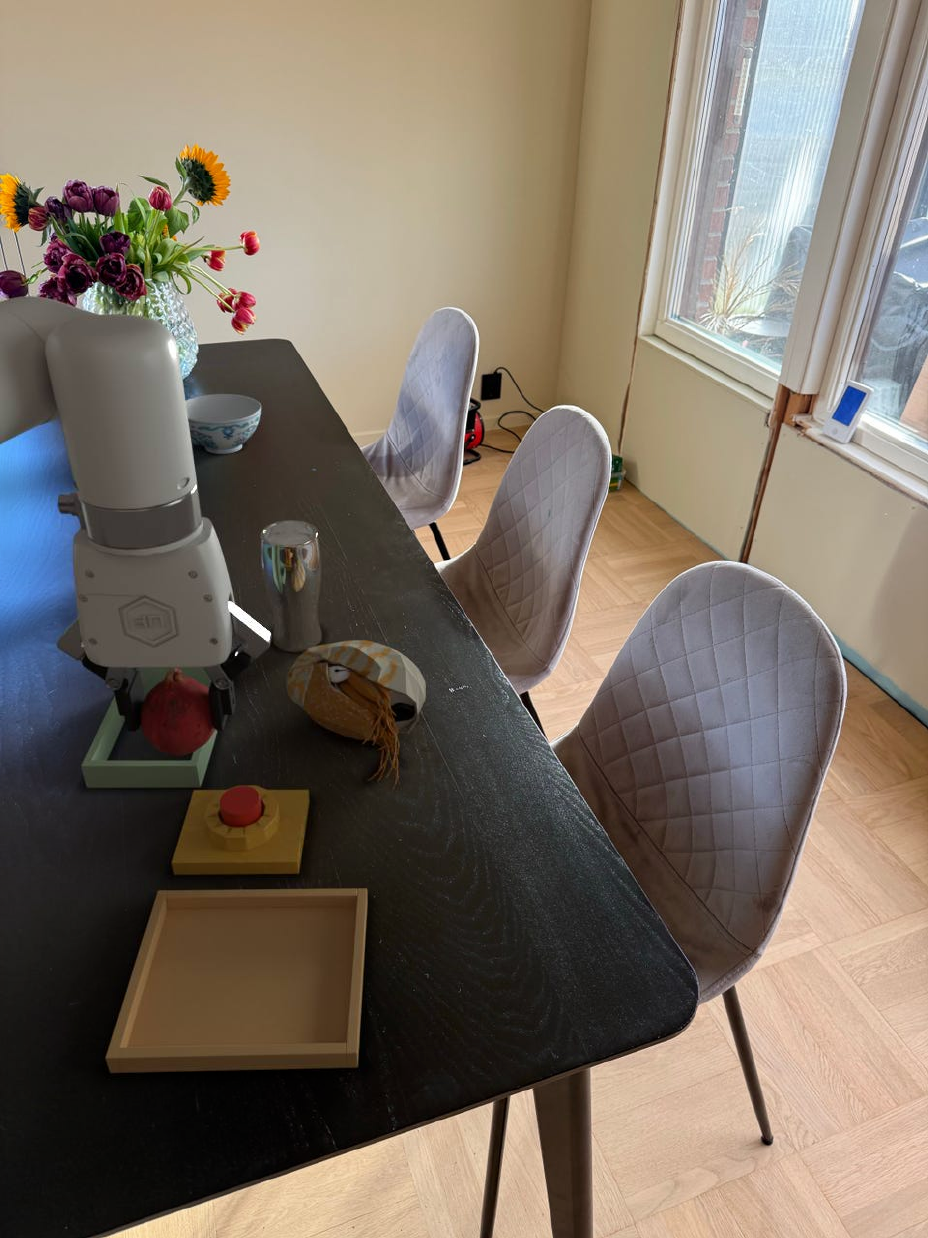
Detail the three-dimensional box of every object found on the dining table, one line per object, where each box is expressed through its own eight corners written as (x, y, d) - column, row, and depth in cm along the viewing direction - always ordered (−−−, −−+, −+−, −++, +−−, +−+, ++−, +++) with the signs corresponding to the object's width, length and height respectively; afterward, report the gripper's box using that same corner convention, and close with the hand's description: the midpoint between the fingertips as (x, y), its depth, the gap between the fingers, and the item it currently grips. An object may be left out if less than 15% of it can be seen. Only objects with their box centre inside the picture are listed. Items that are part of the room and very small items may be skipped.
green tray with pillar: (86, 788, 84) (52, 664, 76) (136, 680, 99) (112, 566, 91) (200, 788, 85) (179, 665, 77) (233, 680, 100) (218, 567, 92)
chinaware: (167, 444, 159) (160, 404, 155) (238, 427, 168) (234, 388, 164) (207, 469, 150) (201, 427, 146) (280, 450, 159) (277, 410, 155)
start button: (218, 828, 77) (215, 814, 76) (225, 799, 80) (223, 785, 79) (258, 828, 77) (256, 814, 76) (264, 799, 80) (263, 785, 79)
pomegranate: (217, 775, 67) (204, 694, 62) (141, 778, 66) (123, 697, 62) (227, 727, 72) (216, 649, 67) (156, 729, 71) (140, 650, 67)
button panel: (174, 875, 76) (168, 848, 74) (196, 802, 84) (191, 776, 82) (298, 874, 77) (296, 847, 75) (309, 802, 84) (307, 776, 82)
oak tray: (110, 1074, 61) (105, 1058, 60) (161, 905, 73) (157, 890, 72) (357, 1068, 62) (356, 1053, 61) (367, 903, 74) (367, 888, 73)
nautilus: (450, 794, 87) (301, 819, 84) (413, 661, 103) (287, 679, 101) (450, 738, 82) (291, 763, 79) (410, 608, 98) (279, 625, 96)
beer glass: (324, 622, 111) (318, 518, 103) (326, 652, 105) (320, 545, 97) (269, 625, 110) (259, 520, 102) (268, 656, 104) (257, 548, 96)
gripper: (-14, 536, 53) (50, 753, 63) (265, 538, 55) (286, 751, 65) (30, 486, 60) (82, 691, 70) (279, 489, 61) (296, 690, 71)
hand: (180, 718), depth 67 cm, fingers closed on pomegranate, 5 cm apart
